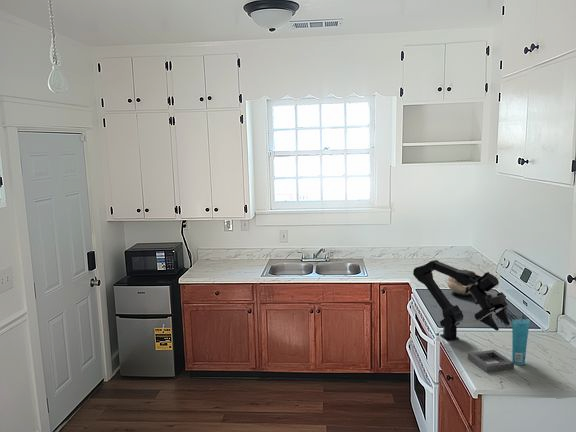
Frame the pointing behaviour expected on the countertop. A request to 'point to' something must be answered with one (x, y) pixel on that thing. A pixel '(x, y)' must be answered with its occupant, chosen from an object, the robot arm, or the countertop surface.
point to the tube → (519, 340)
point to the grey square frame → (503, 365)
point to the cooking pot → (458, 286)
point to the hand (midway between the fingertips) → (503, 327)
